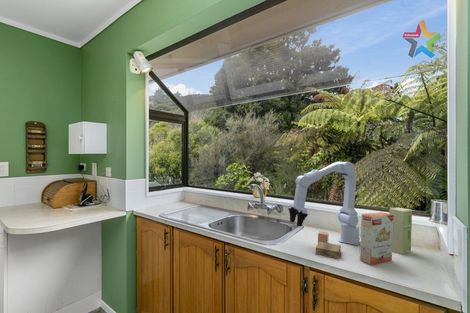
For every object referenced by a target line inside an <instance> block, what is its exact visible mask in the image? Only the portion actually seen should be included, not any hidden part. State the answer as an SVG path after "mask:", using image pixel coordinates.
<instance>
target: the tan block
mask: <svg viewBox="0 0 470 313" xmlns="http://www.w3.org/2000/svg"><path fill="white" fill-rule="evenodd" d="M319 241H320V242H325V243H329V231H323V230H322V231H321V230H320V231H318V232H317V244H318V243H319Z"/></svg>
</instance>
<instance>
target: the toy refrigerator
mask: <svg viewBox="0 0 470 313" xmlns="http://www.w3.org/2000/svg"><path fill="white" fill-rule="evenodd" d="M388 212H389V213H388V214H392V215H394V217H393V242H392V252H394V253H397V254H400V255H406V254H409V253H411V252H412V231H413V230H412V228H413V227H412V222H413V221H412V220H413V209H411V208H410V209H409V208H404V207H391V208H389V211H388Z"/></svg>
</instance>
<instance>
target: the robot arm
mask: <svg viewBox="0 0 470 313" xmlns="http://www.w3.org/2000/svg"><path fill="white" fill-rule="evenodd" d="M332 173H337V174H340V176H342V177H343V178H344V179H345V180H344V192H343V205H342V206H341V208H340V209H339V213H338V215H337V219H338V222H339V224H340V237H339V239H338V240H339V241H338V242H339V243H344V244H349V245H356V246H359V245H360V244H359V243H360V242H361V237H360V226H357V225H358V224H359V217H358V214H359V213H358V212H357V211H356V209H355V200H356V190H357V188H356V187H357V174H356V165H355V164H354V163H352V162H351V161H336V162H332V163H331V164H329V165H327V166H326V167H323V168H321V169H312V170H311V171H310V172H307V173H303V175H299V176H297V177H296V179H295V180H294V183H295V185H296V186H295V191H294V192H295V193H294V197H293V198H294V199H293V203H290V206H289V207H288V213H289V220H290V221H289V222H290V223H295V221H296V226H297V227H302V226H303V224H304V221H305V220H306V218H307V217H308V216H309V214H308V209H307V208H305V205H306V201H307V200H306V199H307V193H308V189H309V187H310V186H311V184H314V183H315V182H318V181H321V179H322V177H323V176H326V175H328V174H332ZM296 219H297V220H296Z"/></svg>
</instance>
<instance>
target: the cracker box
mask: <svg viewBox="0 0 470 313" xmlns="http://www.w3.org/2000/svg"><path fill="white" fill-rule="evenodd" d="M393 217H394V215H392V214H389V213H387V212H382V211H381V212H372V213H371V212H370V213H362V214H361V220H360V222H361V224H360V225H361V226H360V244H359V245H360V250H359V251H360V252H359V253H360V255H359V260H360V262H361V261H362V262H364V263H365V264H368V265H370V266H372V265H376V264H382V263H387V262H391V261H393V251H392V242H393Z"/></svg>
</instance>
